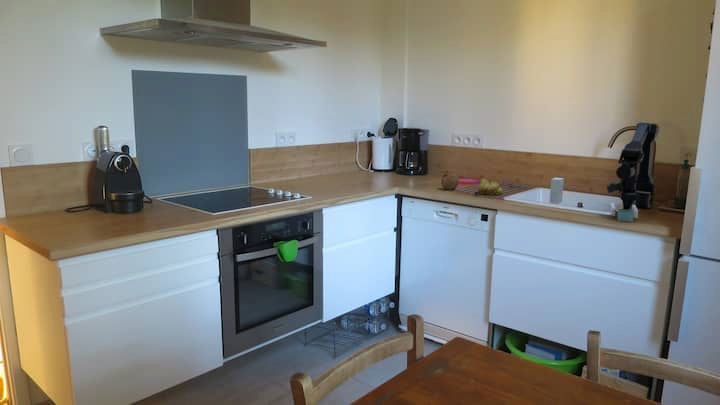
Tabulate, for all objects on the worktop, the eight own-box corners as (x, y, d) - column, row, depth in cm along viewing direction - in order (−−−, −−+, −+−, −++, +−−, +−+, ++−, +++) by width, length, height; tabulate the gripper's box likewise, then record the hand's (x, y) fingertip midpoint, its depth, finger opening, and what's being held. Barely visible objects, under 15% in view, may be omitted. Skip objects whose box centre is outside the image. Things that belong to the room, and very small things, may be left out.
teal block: (617, 217, 223) (618, 208, 222) (631, 219, 221) (632, 209, 220) (618, 221, 217) (619, 211, 216) (632, 222, 215) (633, 213, 214)
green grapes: (504, 194, 273) (505, 179, 272) (498, 197, 265) (499, 181, 264) (481, 191, 280) (482, 177, 279) (474, 194, 272) (475, 179, 271)
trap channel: (610, 209, 239) (611, 202, 238) (634, 211, 235) (635, 204, 235) (611, 216, 225) (612, 209, 225) (637, 218, 222) (638, 211, 221)
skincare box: (553, 201, 256) (555, 177, 254) (562, 202, 254) (564, 178, 251) (548, 203, 252) (551, 178, 249) (557, 204, 249) (560, 179, 247)
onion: (443, 195, 284) (435, 179, 282) (448, 188, 292) (441, 172, 289) (458, 191, 279) (451, 174, 276) (463, 184, 286) (456, 168, 284)
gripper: (607, 172, 231) (603, 206, 234) (609, 178, 214) (605, 215, 217) (635, 174, 227) (631, 209, 230) (639, 180, 210) (635, 217, 213)
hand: (625, 212), depth 223 cm, fingers closed
